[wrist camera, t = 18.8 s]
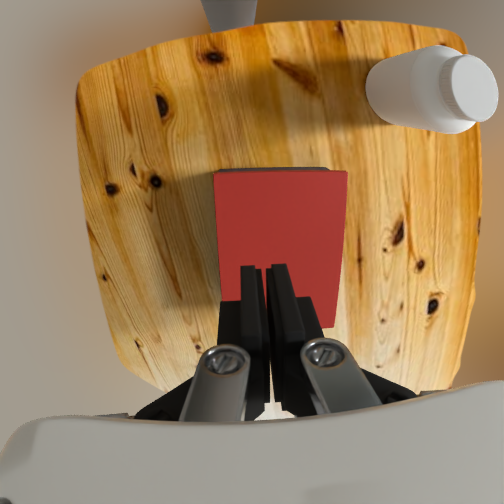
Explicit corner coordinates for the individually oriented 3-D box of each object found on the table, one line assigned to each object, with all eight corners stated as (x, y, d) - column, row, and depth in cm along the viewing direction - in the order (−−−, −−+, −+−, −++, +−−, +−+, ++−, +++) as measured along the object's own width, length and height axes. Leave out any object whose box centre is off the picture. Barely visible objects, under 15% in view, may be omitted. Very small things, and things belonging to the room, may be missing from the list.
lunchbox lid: (213, 172, 27) (213, 174, 27) (345, 170, 27) (348, 171, 27) (225, 329, 34) (224, 333, 33) (332, 323, 34) (334, 327, 33)
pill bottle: (352, 68, 30) (421, 44, 16) (410, 53, 28) (493, 35, 15) (376, 133, 33) (454, 151, 19) (431, 116, 32) (518, 128, 18)
